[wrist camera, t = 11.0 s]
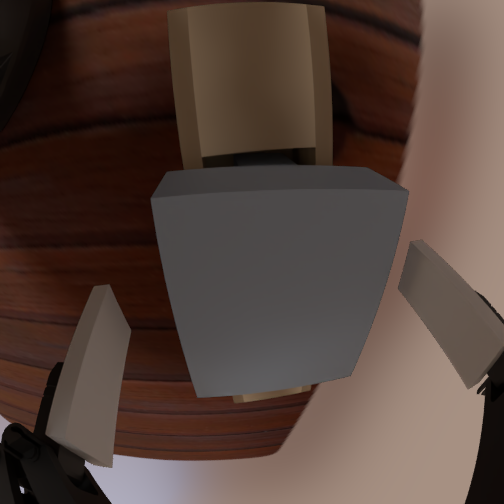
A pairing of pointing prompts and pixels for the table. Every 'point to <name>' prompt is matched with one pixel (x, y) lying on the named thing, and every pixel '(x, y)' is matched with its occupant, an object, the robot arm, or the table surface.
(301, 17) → the rail
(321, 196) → the grey plastic block
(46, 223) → the table surface
